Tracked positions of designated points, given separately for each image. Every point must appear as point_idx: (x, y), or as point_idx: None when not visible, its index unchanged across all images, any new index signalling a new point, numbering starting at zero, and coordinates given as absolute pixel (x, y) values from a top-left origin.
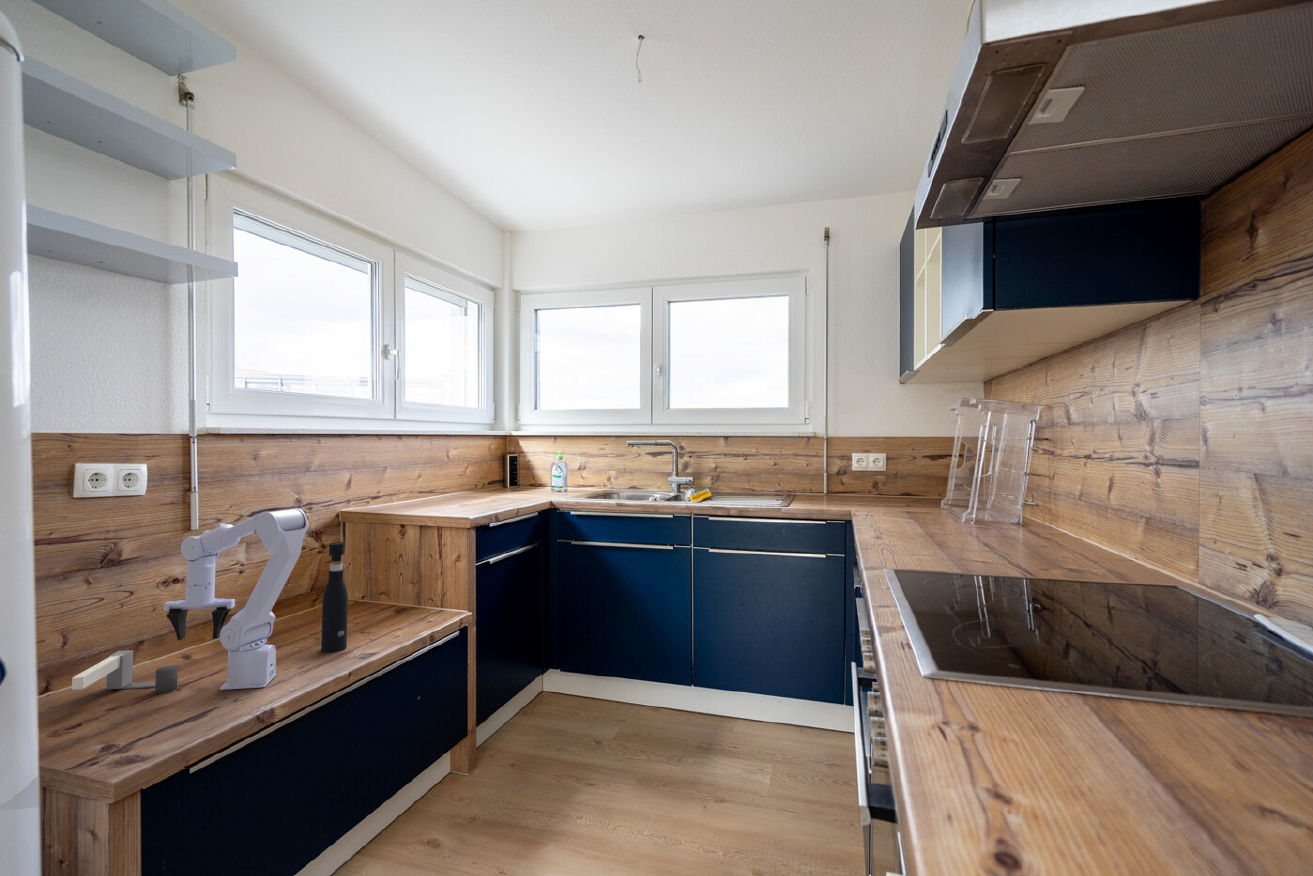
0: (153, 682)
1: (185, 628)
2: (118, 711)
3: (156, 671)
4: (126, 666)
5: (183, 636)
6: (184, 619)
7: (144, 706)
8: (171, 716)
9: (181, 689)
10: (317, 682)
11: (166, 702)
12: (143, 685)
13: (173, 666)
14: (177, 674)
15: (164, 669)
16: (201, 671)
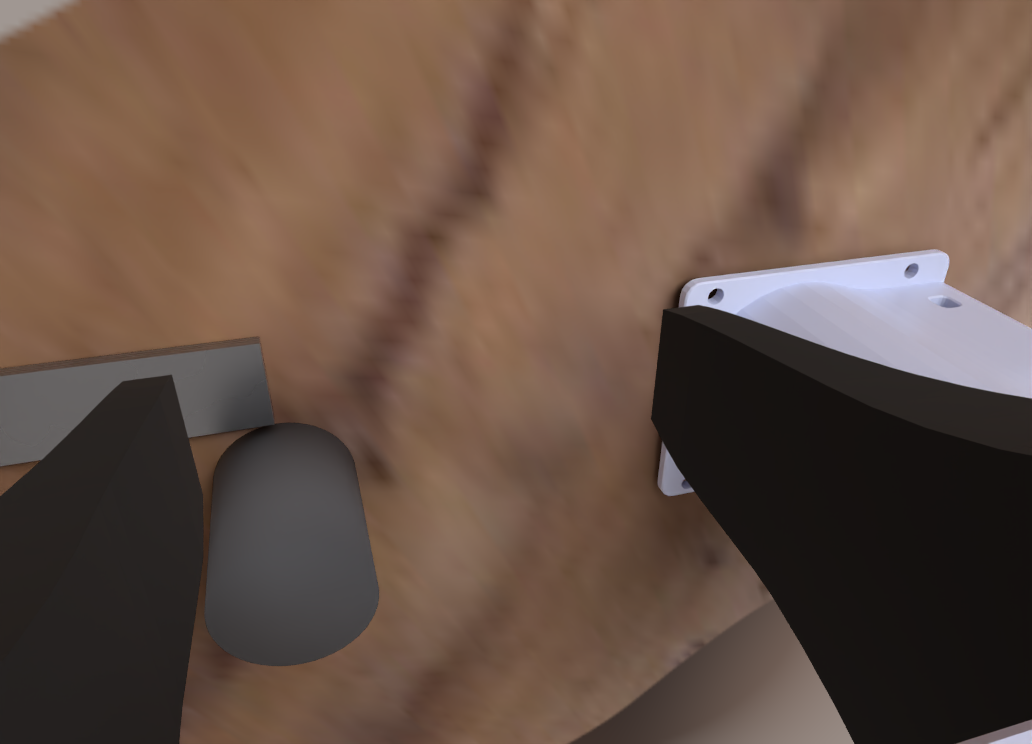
0: (66, 387)
1: (132, 439)
2: (214, 739)
3: (240, 658)
4: None
5: (182, 440)
6: (95, 645)
7: (323, 679)
8: (540, 735)
9: (394, 466)
10: None
11: (420, 629)
12: (28, 447)
13: (318, 560)
14: (363, 525)
15: (283, 621)
16: (323, 71)
